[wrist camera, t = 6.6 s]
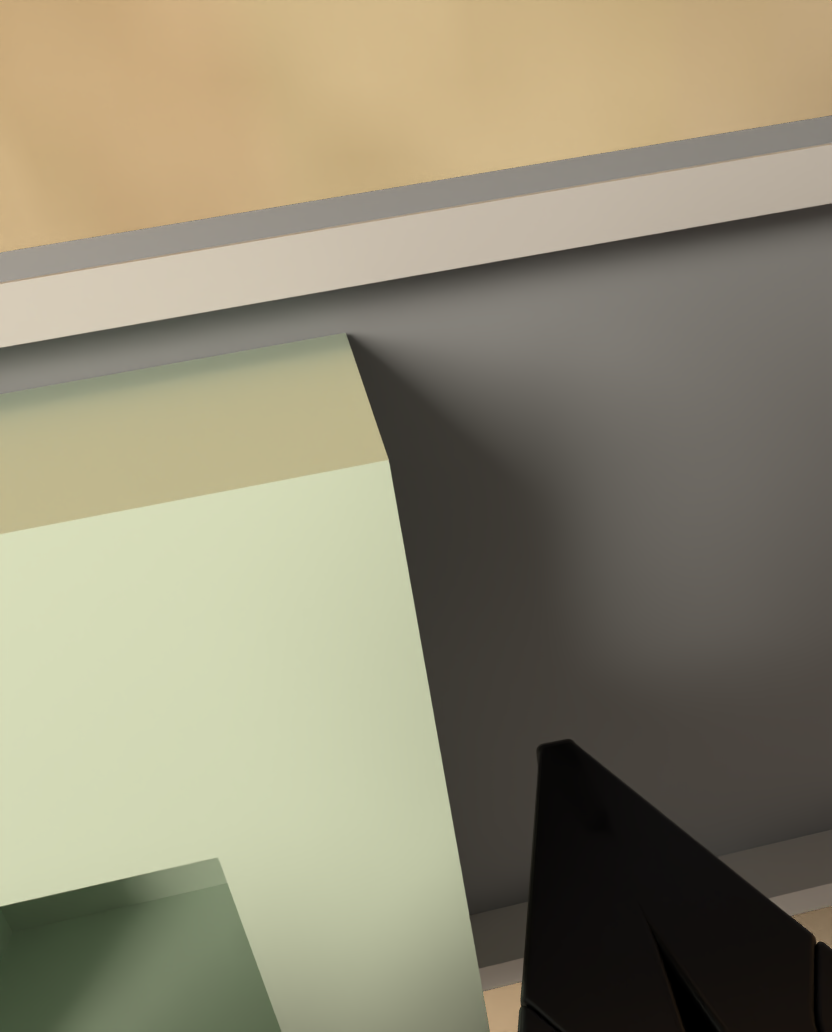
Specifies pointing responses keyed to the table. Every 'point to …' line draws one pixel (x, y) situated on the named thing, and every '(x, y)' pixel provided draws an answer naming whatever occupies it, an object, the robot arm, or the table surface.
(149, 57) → the table surface
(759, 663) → the guide board
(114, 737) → the sliding block
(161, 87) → the table surface
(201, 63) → the table surface
